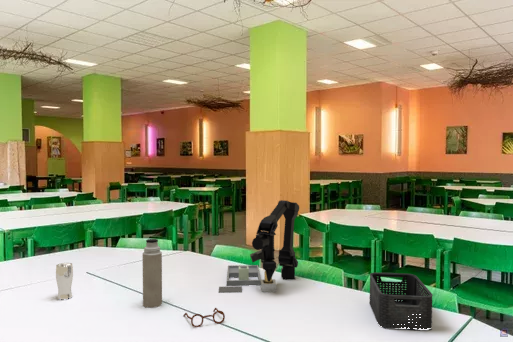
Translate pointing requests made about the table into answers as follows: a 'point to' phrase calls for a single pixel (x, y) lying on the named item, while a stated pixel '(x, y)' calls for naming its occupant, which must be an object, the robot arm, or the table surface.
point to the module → (243, 273)
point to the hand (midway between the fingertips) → (268, 278)
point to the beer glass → (64, 280)
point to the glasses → (206, 316)
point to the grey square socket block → (268, 286)
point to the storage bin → (400, 301)
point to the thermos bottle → (152, 274)
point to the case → (234, 272)
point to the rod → (266, 278)
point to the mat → (230, 289)
